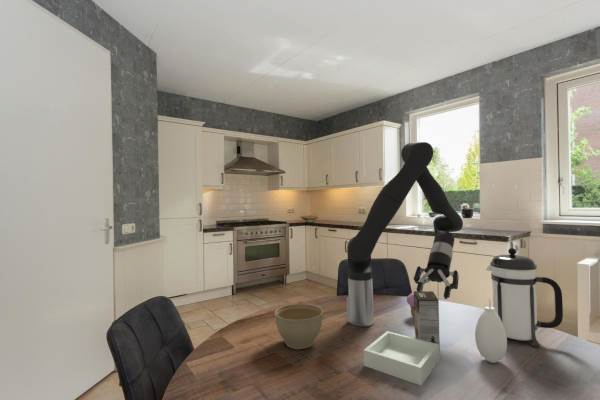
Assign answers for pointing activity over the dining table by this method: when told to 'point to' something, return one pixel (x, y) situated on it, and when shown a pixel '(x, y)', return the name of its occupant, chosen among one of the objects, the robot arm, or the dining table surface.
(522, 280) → the coffee press
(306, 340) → the planter bowl
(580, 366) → the dining table surface
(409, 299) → the cupcake
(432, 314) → the coffee box
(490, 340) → the sauce bottle
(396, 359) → the tub
